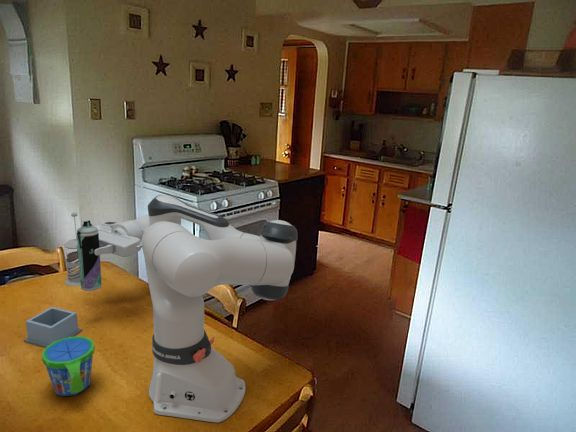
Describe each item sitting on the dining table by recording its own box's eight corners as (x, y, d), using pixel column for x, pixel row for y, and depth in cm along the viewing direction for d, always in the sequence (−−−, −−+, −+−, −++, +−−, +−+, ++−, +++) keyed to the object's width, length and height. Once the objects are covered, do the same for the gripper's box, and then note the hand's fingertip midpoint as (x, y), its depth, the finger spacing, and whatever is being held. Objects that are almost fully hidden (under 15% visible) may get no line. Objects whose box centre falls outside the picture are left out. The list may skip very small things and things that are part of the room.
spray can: (93, 292, 118) (89, 224, 113) (76, 289, 119) (71, 222, 114) (105, 284, 123) (101, 219, 118) (89, 281, 124) (84, 217, 119)
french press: (67, 275, 152) (60, 209, 145) (102, 272, 156) (97, 208, 148) (62, 287, 143) (54, 217, 136) (99, 284, 147) (93, 216, 140)
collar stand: (82, 330, 119) (80, 312, 117) (53, 350, 110) (51, 330, 108) (54, 323, 122) (52, 305, 120) (23, 341, 112) (21, 322, 111)
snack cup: (46, 372, 101) (41, 336, 98) (94, 361, 106) (90, 326, 103) (46, 416, 88) (41, 375, 85) (101, 401, 93) (97, 362, 90)
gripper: (150, 253, 126) (112, 268, 114) (103, 239, 134) (63, 252, 123) (149, 233, 124) (111, 247, 112) (102, 220, 133) (61, 232, 121)
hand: (85, 249), depth 117 cm, fingers closed on spray can, 5 cm apart
